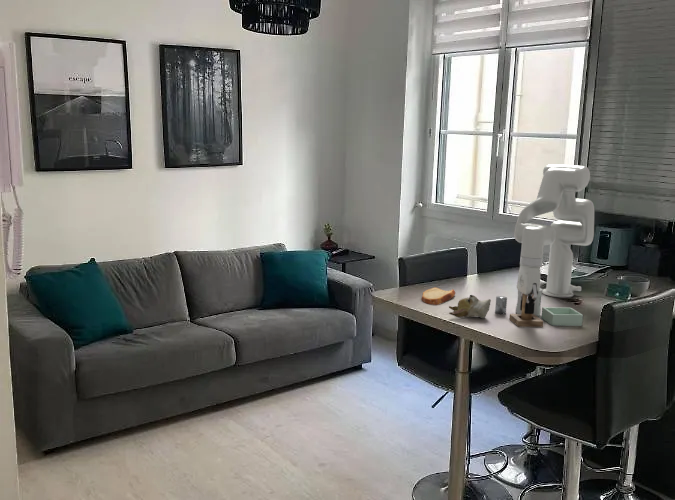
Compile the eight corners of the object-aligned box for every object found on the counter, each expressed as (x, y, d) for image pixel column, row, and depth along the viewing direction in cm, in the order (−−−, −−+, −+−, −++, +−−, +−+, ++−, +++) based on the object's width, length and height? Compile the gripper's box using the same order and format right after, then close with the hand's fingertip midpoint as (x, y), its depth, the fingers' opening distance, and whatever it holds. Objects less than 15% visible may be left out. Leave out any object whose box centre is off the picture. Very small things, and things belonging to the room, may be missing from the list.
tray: (569, 317, 245) (570, 307, 244) (581, 325, 235) (583, 315, 235) (541, 317, 244) (542, 307, 243) (552, 325, 234) (553, 314, 234)
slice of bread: (429, 306, 256) (430, 296, 256) (409, 294, 273) (410, 286, 272) (470, 303, 262) (470, 294, 262) (448, 292, 279) (448, 284, 278)
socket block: (533, 319, 241) (533, 314, 241) (542, 326, 232) (543, 321, 232) (509, 319, 240) (509, 314, 240) (518, 326, 232) (518, 321, 231)
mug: (543, 317, 244) (545, 291, 242) (518, 316, 244) (520, 290, 242) (534, 309, 256) (536, 284, 254) (511, 308, 256) (513, 283, 255)
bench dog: (503, 311, 251) (505, 296, 250) (507, 314, 247) (508, 298, 246) (493, 311, 251) (494, 296, 249) (496, 314, 247) (498, 298, 246)
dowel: (528, 321, 238) (531, 289, 236) (532, 324, 235) (535, 291, 233) (519, 321, 238) (521, 289, 236) (522, 324, 235) (525, 291, 232)
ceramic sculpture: (491, 298, 234) (449, 297, 237) (491, 322, 236) (449, 321, 238) (489, 291, 245) (448, 291, 247) (489, 314, 246) (448, 313, 248)
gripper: (512, 257, 240) (508, 305, 244) (529, 266, 224) (525, 318, 227) (532, 257, 241) (528, 306, 244) (550, 266, 225) (546, 318, 228)
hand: (526, 311), depth 236 cm, fingers closed on dowel, 3 cm apart
